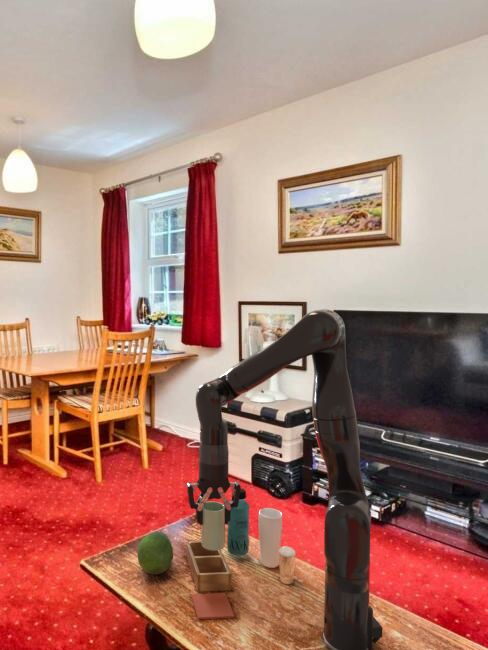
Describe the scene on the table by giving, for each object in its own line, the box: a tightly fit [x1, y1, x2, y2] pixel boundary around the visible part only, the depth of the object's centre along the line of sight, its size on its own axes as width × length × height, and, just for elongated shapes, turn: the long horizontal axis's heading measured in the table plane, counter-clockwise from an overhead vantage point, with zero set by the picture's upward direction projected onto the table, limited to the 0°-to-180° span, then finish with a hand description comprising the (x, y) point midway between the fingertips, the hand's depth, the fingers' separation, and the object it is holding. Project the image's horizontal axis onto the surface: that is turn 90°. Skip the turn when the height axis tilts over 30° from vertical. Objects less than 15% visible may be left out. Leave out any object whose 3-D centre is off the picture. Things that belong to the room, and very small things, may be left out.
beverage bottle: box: [226, 487, 250, 557], centre depth 146 cm, size 6×7×20 cm
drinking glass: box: [257, 507, 284, 569], centre depth 142 cm, size 7×7×15 cm
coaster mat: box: [190, 592, 236, 620], centre depth 123 cm, size 9×9×1 cm
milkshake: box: [279, 545, 298, 585], centre depth 133 cm, size 4×5×10 cm
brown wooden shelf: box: [185, 540, 232, 593], centre depth 138 cm, size 9×17×4 cm, turn 5°
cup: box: [200, 500, 226, 551], centre depth 126 cm, size 6×6×10 cm
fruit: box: [137, 531, 174, 575], centre depth 140 cm, size 15×10×10 cm, turn 164°
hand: (213, 523), depth 126 cm, fingers closed on cup, 6 cm apart
